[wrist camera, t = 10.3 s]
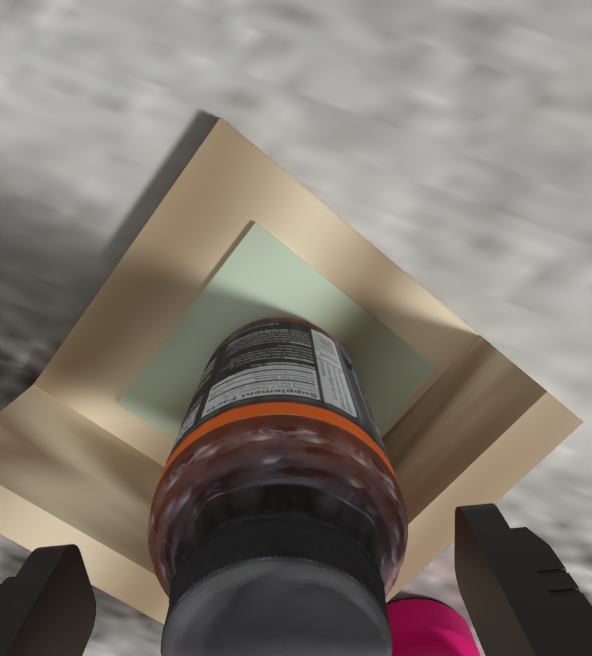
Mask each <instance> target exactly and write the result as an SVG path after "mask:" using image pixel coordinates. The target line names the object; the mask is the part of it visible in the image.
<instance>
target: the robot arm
mask: <svg viewBox="0 0 592 656" xmlns="http://www.w3.org/2000/svg"><path fill="white" fill-rule="evenodd" d="M455 572H456V578H457V582H458V587H459V590H460V593H461V596H462V599H463V601H464V604H465V606H466V609H467V611H468V614H469V616H470V619H471V621H472V623H473V626H474V628H475V631H476V633H477V636H478V638H479V641H480V643H481V646H482V648H483V650H484V653H485V655H486V656H592V606H591V605H590V603H589V602H588V600H587V599H586V597H585V596H584V594H583V593H580V591H579V587H578V586H577V584H576V583H575V581H574V580H573V579H572V577H571V576H570V574H569V573H567V572H566V570H565V567H564V566H563V564H562V563H561V561H560V560H559V558H558V557H557V555H556V554H555V553H554V551H553V550H552V548H551V547H550V545H548V544H547V543H546V542H545V541H543V540H542V539H541V538H539V537H538V536H537V535H535V534H534V533H533V532H532V531H530V530H529V529H528V528H526V527H521V528H511V529H510V527H509V526H508V524H507V522H506V521H505V519H504V517H503V516H502V514H501V513H500V511H499V509H498V508H497V506H496V505H495V504H493V503H488V504H478V505H468V506H458V507H456V509H455ZM95 616H96V601H95V596H94V593H93V590H92V587H91V583H90V580H89V577H88V574H87V571H86V568H85V564H84V561H83V558H82V555H81V552H80V549H79V548H78V546H77V545H75V544H67V545H58V546H48V547H39V548H36V549H35V550H34V551H33V552H32V553H31V554H30V556H29V557H28V559H27V560H26V562H25V563H24V565H23V566H22V568H21V569H20V571H19V572H18V574H17V575H16V576H15V577H8V578H7V579H6V580H5V581H3V582H2V583H1V584H0V656H82V655H83V652H84V650H85V647H86V645H87V642H88V640H89V638H90V635H91V633H92V630H93V627H94V622H95Z"/></svg>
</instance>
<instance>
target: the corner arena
mask: <svg viewBox="0 0 592 656" xmlns="http://www.w3.org/2000/svg"><path fill="white" fill-rule="evenodd" d="M276 317H281V318H294V319H298V320H303V321H306V322H309V323H311V324H313V325H315V326H317V327H319V328H321V329H323V330H324V331H326V332H327V333H329V334H330V335H331V336H332V337H334V338H335V339H336V340H337V341H338V343H339V344H340V345H341V346H342V347H343V348H344V350H345V351H346V353H347V355H348V357H349V358H350V360H351V361H352V363H353V365H354V367H355V370H356V372H357V375H358V378H359V381H360V383H361V386H362V388H363V391H364V394H365V396H366V399H367V402H368V405H369V407H370V410H371V412H372V414H373V417H374V421H375V424H376V426H377V428H378V431H379V433H380V436H381V439H382V441H383V444H384V447H385V449H386V451H387V453H388V458H389V461H390V464H391V467H392V469H393V471H394V473H395V475H396V479H397V483H398V485H399V488H400V490H401V493H402V497H403V499H404V504H405V507H406V510H407V511H406V514H407V520H408V541H407V547H406V553H405V557H404V562H403V566H402V570H401V571H400V573H399V575H398V578H397V580H396V582H395V585H394V586H393V587H392V590H391V591H390V592H389V594H388V595H387V597H386V599H385V600H386V603H387V602H388V601H389V600H390V599H391V598H393V597H394V596H395V595H396V594H397V593H398V592H399V591H400V590H401V589H402V588H403V587H404V586H406V585H407V584H408V583H409V582H410V581H411V580H412V579H413V578H414V577H415V576H416V575H418V574H419V573H420V572H421V571H422V570H423V569H424V568H425V567H426V566H427V565H428V564H430V563H431V562H432V561H433V560H434V559H435V558H436V557H437V556H438V555H439V554H440V553H441V552H443V551H444V550H445V549H446V548H447V547H448V546H449V545H450V544H451V543H452V542H453V541H455V509H456V507H458V506H468V505H478V504H488V503H493V504H495V503H496V502H497V501H498V500H499V499H500V498H501V497H502V496H504V495H505V494H506V493H507V492H508V491H509V490H510V489H511V488H512V487H513V486H514V485H515V484H517V483H518V482H519V481H520V480H521V479H522V478H523V477H524V476H525V475H526V474H527V473H529V472H530V471H531V470H532V469H533V468H534V467H535V466H536V465H537V464H538V463H539V462H541V461H542V460H543V459H544V458H545V457H546V456H547V455H548V454H549V453H550V452H551V451H552V450H554V449H555V448H556V447H557V446H558V445H559V444H560V443H561V442H562V441H563V440H564V439H566V438H567V437H568V436H569V435H570V434H571V433H572V432H573V431H574V430H575V429H576V428H578V427H579V426H580V425H581V424H582V423H583V421H582V420H580V419H579V418H578V417H577V416H576V415H575V414H573V413H572V412H571V411H570V410H569V409H567V408H566V407H565V406H564V405H563V404H561V403H560V402H559V401H558V400H557V399H556V398H554V397H553V396H552V395H551V394H550V393H548V392H547V391H546V390H545V389H544V388H542V387H541V386H540V385H539V384H538V383H536V382H535V381H534V380H533V379H532V378H530V377H529V376H528V375H527V374H526V373H524V372H523V371H522V370H521V369H520V368H518V367H517V366H516V365H515V364H514V363H512V362H511V361H510V360H509V359H508V358H506V357H505V356H504V355H503V354H502V353H500V352H499V351H498V350H497V349H496V348H494V347H493V346H492V345H491V344H490V343H488V342H487V341H486V340H485V339H484V338H482V337H481V336H480V335H479V334H478V333H477V332H475V331H474V330H473V329H472V328H471V327H469V326H468V325H467V324H466V323H465V322H463V321H462V320H461V319H460V318H459V317H458V316H456V315H455V314H454V313H453V312H452V311H450V310H449V309H448V308H447V307H446V306H444V305H443V304H442V303H441V302H440V301H439V300H437V299H436V298H435V297H434V296H433V295H431V294H430V293H429V292H428V291H427V290H426V289H424V288H423V287H422V286H421V285H420V284H418V283H417V282H416V281H415V280H414V279H412V278H411V277H410V276H409V275H408V274H407V273H405V272H404V271H403V270H402V269H401V268H399V267H398V266H397V265H396V264H395V263H393V262H392V261H391V260H390V259H389V258H388V257H386V256H385V255H384V254H383V253H382V252H380V251H379V250H378V249H377V248H376V247H374V246H373V245H372V244H371V243H370V242H369V241H367V240H366V239H365V238H364V237H363V236H361V235H360V234H359V233H358V232H357V231H356V230H354V229H353V228H352V227H351V226H350V225H348V224H347V223H346V222H345V221H344V220H342V219H341V218H340V217H339V216H338V215H337V214H335V213H334V212H333V211H332V210H331V209H329V208H328V207H327V206H326V205H325V204H323V203H322V202H321V201H320V200H319V199H318V198H316V197H315V196H314V195H313V194H312V193H310V192H309V191H308V190H307V189H306V188H304V187H303V186H302V185H301V184H300V183H299V182H297V181H296V180H295V179H294V178H293V177H291V176H290V175H289V174H288V173H287V172H286V171H284V170H283V169H282V168H281V167H280V166H278V165H277V164H276V163H275V162H274V161H272V160H271V159H270V158H269V157H268V156H267V155H265V154H264V153H263V152H262V151H261V150H259V149H258V148H257V147H256V146H255V145H253V144H252V143H251V142H250V141H249V140H248V139H246V138H245V137H244V136H243V135H242V134H240V133H239V132H238V131H237V130H236V129H234V128H233V127H232V126H231V125H230V124H229V123H227V122H226V121H225V120H224V119H223V118H221V117H220V119H219V120H218V122H217V123H216V124H215V126H214V127H213V129H212V130H211V132H210V133H209V134H208V136H207V137H206V139H205V140H204V142H203V143H202V144H201V146H200V147H199V149H198V150H197V152H196V153H195V154H194V156H193V157H192V159H191V160H190V162H189V163H188V164H187V166H186V167H185V169H184V170H183V172H182V173H181V174H180V176H179V177H178V179H177V180H176V182H175V183H174V184H173V186H172V187H171V189H170V190H169V192H168V193H167V194H166V196H165V197H164V199H163V200H162V202H161V203H160V204H159V206H158V207H157V209H156V210H155V212H154V213H153V214H152V216H151V217H150V219H149V220H148V222H147V223H146V224H145V226H144V227H143V229H142V230H141V231H140V233H139V234H138V236H137V237H136V239H135V240H134V241H133V243H132V244H131V246H130V247H129V249H128V250H127V251H126V253H125V254H124V256H123V257H122V259H121V260H120V261H119V263H118V264H117V266H116V267H115V269H114V270H113V271H112V273H111V274H110V276H109V277H108V279H107V280H106V281H105V283H104V284H103V286H102V287H101V289H100V290H99V291H98V293H97V294H96V296H95V297H94V299H93V300H92V301H91V303H90V304H89V306H88V307H87V309H86V310H85V311H84V313H83V314H82V316H81V317H80V319H79V320H78V321H77V323H76V324H75V326H74V327H73V329H72V330H71V331H70V333H69V334H68V336H67V337H66V339H65V340H64V341H63V343H62V344H61V346H60V347H59V348H58V350H57V351H56V353H55V354H54V356H53V357H52V358H51V360H50V361H49V363H48V364H47V366H46V367H45V368H44V370H43V371H42V373H41V374H40V376H39V377H38V378H37V380H36V381H35V383H34V384H33V385H32V386H31V387H29V388H28V389H27V390H26V391H25V392H23V393H22V394H21V395H20V396H19V397H17V398H16V399H15V400H14V401H13V402H11V403H10V404H9V405H8V406H7V407H6V408H4V409H3V410H2V411H1V412H0V534H1V535H3V536H5V537H7V538H9V539H10V540H12V541H14V542H16V543H18V544H19V545H21V546H23V547H25V548H27V549H28V550H30V551H32V552H33V551H34V550H35V549H36V548H39V547H48V546H58V545H67V544H75V545H77V546H78V548H79V549H80V552H81V555H82V558H83V561H84V564H85V568H86V571H87V574H88V577H89V580H90V583H91V585H93V586H95V587H97V588H99V589H100V590H102V591H104V592H106V593H108V594H109V595H111V596H113V597H115V598H117V599H118V600H120V601H122V602H124V603H126V604H127V605H129V606H131V607H133V608H135V609H136V610H138V611H140V612H142V613H144V614H145V615H147V616H149V617H151V618H153V619H154V620H156V621H158V622H160V623H162V624H165V620H166V616H167V612H168V607H169V597H168V596H167V595H166V593H165V592H164V590H163V588H162V587H161V585H160V583H159V581H158V579H157V577H156V575H155V573H154V569H153V566H152V563H151V560H150V555H149V549H148V522H149V515H150V510H151V505H152V501H153V496H154V493H155V490H156V487H157V484H158V482H159V479H160V477H161V474H162V472H163V470H164V467H165V465H166V462H167V459H168V457H169V455H170V453H171V450H172V447H173V445H174V443H175V440H176V438H177V435H178V432H179V430H180V428H181V425H182V422H183V420H184V418H185V415H186V413H187V411H188V408H189V405H190V403H191V401H192V399H193V396H194V394H195V391H196V389H197V387H198V384H199V382H200V379H201V377H202V375H203V372H204V369H205V367H206V366H207V364H208V362H209V360H210V358H211V356H212V355H213V353H214V352H215V350H216V349H217V347H218V346H219V345H220V344H221V343H222V342H223V341H224V340H225V339H226V338H227V337H228V336H229V335H230V334H232V333H233V332H234V331H235V330H237V329H239V328H241V327H243V326H244V325H247V324H249V323H252V322H255V321H258V320H262V319H267V318H276Z"/></svg>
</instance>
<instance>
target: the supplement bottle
mask: <svg viewBox="0 0 592 656" xmlns="http://www.w3.org/2000/svg"><path fill="white" fill-rule="evenodd" d="M406 511H407V510H406V507H405V504H404V499H403V497H402V493H401V490H400V488H399V485H398V483H397V479H396V475H395V473H394V471H393V469H392V467H391V464H390V461H389V458H388V453H387V451H386V449H385V447H384V444H383V441H382V439H381V436H380V433H379V431H378V428H377V426H376V424H375V421H374V417H373V414H372V412H371V410H370V407H369V405H368V402H367V399H366V396H365V394H364V391H363V388H362V386H361V383H360V381H359V378H358V375H357V372H356V370H355V367H354V365H353V363H352V361H351V360H350V358H349V357H348V355H347V353H346V351H345V350H344V348H343V347H342V346H341V345H340V344H339V343H338V341H337V340H336V339H335V338H334V337H332V336H331V335H330V334H329V333H327V332H326V331H324V330H323V329H321V328H319V327H317V326H315V325H313V324H311V323H309V322H306V321H303V320H298V319H294V318H281V317H276V318H267V319H262V320H258V321H255V322H252V323H249V324H247V325H244V326H243V327H241V328H239V329H237V330H235V331H234V332H233V333H232V334H230V335H229V336H228V337H227V338H226V339H225V340H224V341H223V342H222V343H221V344H220V345H219V346H218V347H217V349H216V350H215V352H214V353H213V355H212V356H211V358H210V360H209V362H208V364H207V366H206V367H205V369H204V372H203V375H202V377H201V379H200V382H199V384H198V387H197V389H196V391H195V394H194V396H193V399H192V401H191V403H190V405H189V408H188V411H187V413H186V415H185V418H184V420H183V422H182V425H181V428H180V430H179V432H178V435H177V438H176V440H175V443H174V445H173V447H172V450H171V453H170V455H169V457H168V459H167V462H166V465H165V467H164V470H163V472H162V474H161V477H160V479H159V482H158V484H157V487H156V490H155V493H154V496H153V501H152V505H151V510H150V515H149V522H148V549H149V555H150V560H151V563H152V566H153V569H154V573H155V575H156V577H157V579H158V581H159V583H160V585H161V587H162V588H163V590H164V592H165V593H166V595H167V596H168V597H169V607H168V612H167V616H166V620H165V624H164V628H163V633H162V641H161V655H162V656H391V655H392V631H391V626H390V621H389V616H388V609H387V605H386V600H385V599H386V597H387V595H388V594H389V592H390V591H391V590H392V587H393V586H394V585H395V582H396V580H397V578H398V575H399V573H400V571H401V570H402V566H403V562H404V557H405V553H406V547H407V541H408V520H407V514H406Z"/></svg>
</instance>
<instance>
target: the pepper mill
mask: <svg viewBox="0 0 592 656" xmlns="http://www.w3.org/2000/svg"><path fill="white" fill-rule="evenodd" d="M386 605H387V609H388V616H389V621H390V626H391V631H392V655H391V656H480V653H479V651H478V648H477V646H476V643H475V641H474V638H473V636H472V633H471V631H470V628H469V626H468V624H467V623H466V621H465V620H464V619H463V617H461V616H460V615H459V614H458V613H457V612H456V611H455V610H453V609H451V608H450V607H448V606H446V605H444V604H441V603H438V602H435V601H433V600H425V599H406V600H399V601H395V602H392V603H389V604H386Z"/></svg>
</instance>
